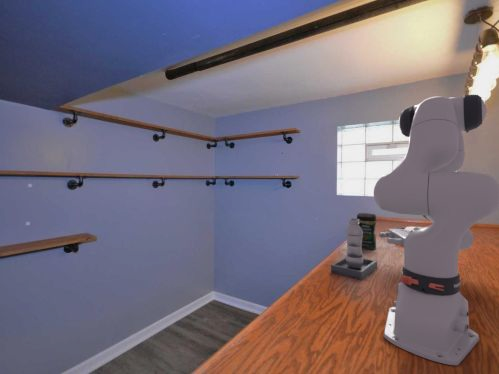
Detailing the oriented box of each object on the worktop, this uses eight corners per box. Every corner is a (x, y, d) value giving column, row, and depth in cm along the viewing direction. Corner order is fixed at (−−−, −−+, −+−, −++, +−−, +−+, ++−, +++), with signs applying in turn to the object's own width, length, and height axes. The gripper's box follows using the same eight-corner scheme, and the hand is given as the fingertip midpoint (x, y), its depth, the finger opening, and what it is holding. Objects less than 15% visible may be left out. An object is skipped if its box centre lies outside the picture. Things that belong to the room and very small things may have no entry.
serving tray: (361, 280, 94) (361, 272, 94) (331, 272, 102) (330, 264, 102) (377, 268, 106) (377, 260, 106) (348, 261, 114) (348, 255, 114)
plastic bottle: (365, 271, 100) (365, 220, 99) (347, 270, 101) (346, 220, 101) (361, 265, 106) (361, 218, 106) (344, 264, 108) (344, 217, 107)
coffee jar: (354, 248, 136) (354, 213, 135) (358, 244, 142) (358, 211, 141) (374, 251, 130) (374, 214, 129) (377, 247, 136) (377, 213, 135)
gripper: (409, 225, 109) (375, 225, 112) (435, 236, 89) (392, 235, 91) (409, 240, 109) (375, 239, 112) (435, 254, 89) (392, 253, 92)
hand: (383, 237), depth 101 cm, fingers open, 8 cm apart
